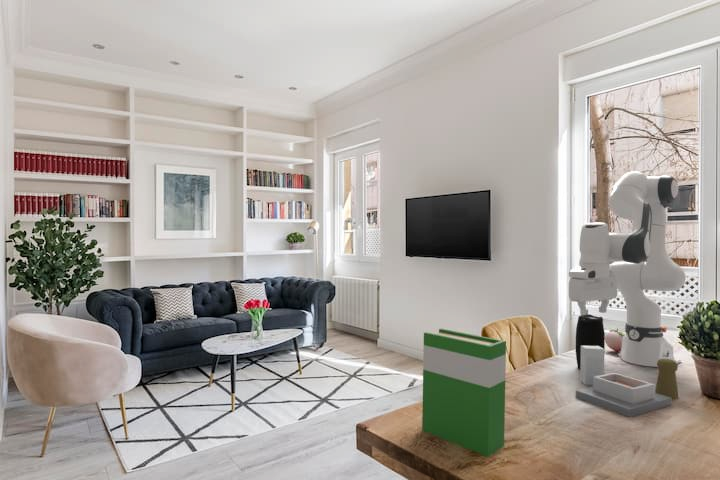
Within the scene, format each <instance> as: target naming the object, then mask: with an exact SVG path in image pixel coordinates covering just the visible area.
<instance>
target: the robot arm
mask: <svg viewBox="0 0 720 480" xmlns="http://www.w3.org/2000/svg"><path fill="white" fill-rule="evenodd" d="M678 194H679V184H678V182H677V179H676V178H674V176H671V175H661V176H657V175H656V176H654V175H652V176H651V175H650V176H646V175H645V173H642V172H640V171H630V172H627V173H625V174H623V175H622V176H621V178H619V180H618V181H617V182H615V183H614V185H612V187H611V193H610V195H609V198H608V207H609V209H610V211H611V212H612V213H613V214H614V215H615V216H617V218H620V219H624V220H629V221H632V227H631V228H632V229H631V231H628V232H610V229H609V225H608V223H607V222H604V221H603V222H602V221H599V222H598V221H594V222H587V223H585V224H583V225H582V226H581V230H580V236H579V252H580V257H579V261H578V265H577V266H575V267H574V268H573V269H571V270H569V271H568V276H569V278H570V279H569V282H568V299H569V300H570V301H571V302H575V303H576V302H577V305H578V307H579V313H580V315H588V314H589V309H587V307H586V306H587V302H593V301H600V302H601V303H600V306H599V307H598V312H599V313H601V314H605V313H607V308H608V306H609V303H610V300H613V299H617V297H618V291H619V292H620V294H621V295H622V297H623V299H624V302H625V308H626V323H625V327H624V332H625V334H626V335H625V336H623V339H622V347H621V351H620V352H617V353H618V354H617V356H618V357H620V359H621V360H622V361H624V362H626V363H629V364H632V365H638V366H645V367H653V368H654V367H656V368H658V367H657V362H658V360H659V359H670V360H673V361H675V362H676V363H677V365H678V364H680V363H681V361H682V360H681V358H678V357H675V356H674V347H673V345H672V344H671V343H670V342H668V340H667V339H665V337H664V333H667V330H668V329H667V327H665V326H661V317H662V316H661V314H662V313H661V312H662V309H661V307H660V305H659V304H658V303H657V302H656V301H655V300H652V299H650V298H649V297H647V296H646V294H645V293H644V291H653V292H673V291H679V290H680V289H682V288H683V286H684V285H685V283H686V274H685V273H686V272H685V271H684V269H683V268H682V267H681V266H680V265H679V264H678V263H676V261H675V262H674V260H672V258H671V257H670V255H669V254H668V252H667V248H666V229H667V228H666V227H667V216H666V208H668V207H669V206H670V205H671V204H672V203H674V201H675V200H676V199H677V197H678ZM610 262H612V263H610Z"/></svg>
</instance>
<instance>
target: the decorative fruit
mask: <svg viewBox="0 0 720 480" xmlns="http://www.w3.org/2000/svg"><path fill="white" fill-rule="evenodd" d="M625 335H626V333H624V332H623V331H619V329H618V328H616V330H615V329H610V330H609V332H607V333H606V334H605V344H606V346H607V347H608V348H609V349H610V350H612V351H614V352H615V353H621V347H622V339H623V336H625Z"/></svg>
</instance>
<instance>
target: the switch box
mask: <svg viewBox="0 0 720 480" xmlns="http://www.w3.org/2000/svg"><path fill="white" fill-rule="evenodd" d="M615 382H620V383H623V384H626V385H629V386H633V387H634V388H631V387H628V386H625V385H622V384H618V383H615ZM655 388H656V385H655V384H654V383H651V382H647V381H645V380H641V379H638V378H634V377H631V376H627V375H625V374H621V373H618V372H610V373H604V375H599V376H595V377H593V385H592V386H589V387H585V388H581V389H576V390H575V397H576V398H577V399H579V400H580V399H581V400H583V401H586V402H588V403H591V404H594V405H597V406H599V407H602V408H605V409H608V410H610V411H612V412H615V413H618V414H621V415H623V416H626V417H629V418H630V417H634V416H637V415H641V414H645V413H648V412H651V411H655V410H658V409H662V408H665V407H668V406H672V400H673V399H672V398H671V397H667V396H664V395H661V394H658V393H655Z"/></svg>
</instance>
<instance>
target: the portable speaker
mask: <svg viewBox="0 0 720 480" xmlns="http://www.w3.org/2000/svg"><path fill="white" fill-rule="evenodd" d="M575 328H576V329H575V330H576V331H575V359H576V364H577V369H579V370H581V346H600V347H601V348H603V349H604V353H605V351H606V349H605V348H606V346H605V344H606V342H605V336H606V334H605V328H604V318H603V316H596V315H593V314H589V313H588V315H581V314H580V315H579V316H578V318H577V321H576V327H575Z"/></svg>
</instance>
